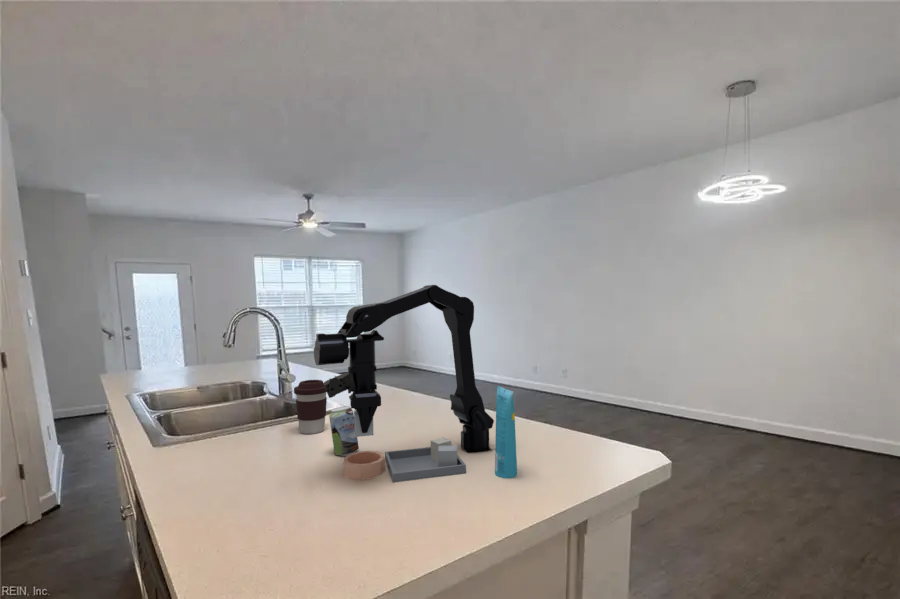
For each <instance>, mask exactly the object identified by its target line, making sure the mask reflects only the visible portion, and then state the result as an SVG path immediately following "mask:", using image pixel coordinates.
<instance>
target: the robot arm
mask: <svg viewBox="0 0 900 599" xmlns="http://www.w3.org/2000/svg"><path fill="white" fill-rule="evenodd" d="M426 304H430V305H431V306H433V307H434V308H435V309H437V310H439V311H441V312H442V314H443V318H444V322H445V324H446V326H447V327H448V329H449V331H450V335H451V342H452V350H453V351H452V352H453V354H452V355H453V361H454V362H453V363H454V369H455V370H454V372H455V378H456V379H455V381H456V382H455V383H456V388H455V392H454V394H453V393H451V394H449V399H450V405H451V406H450V410H451V411H453V414H454V416H455V417H457V418H458V420H459V423H460V425H461V424H462V430H461V431H460V448H461V449H462V450H464V451H465V452H466V453H467V454H475V453H477V454H478V453H483V452H491V451H492V448H491V447H490V429H493V426H494V422H495V420H494V419H493V417H492V416H490V415H489V414H488V413H487V411H486V408H485V404H484V401H483V397H482V396H481V393H480V392H479V390H478V388H477V384H476V378H475V377H476V376H475V366H474V358H473V349H472V338H471V329H472V327H473V323H474V320H475V318H474V317H475V306H474V301H472V300H471V299H470V298H469V297H466V296H459V295H457V294H455V293H453V292H451V291H448V290H446V289H444V288H442V287H440V286H438V285H437V284H428V285H423V287H421V288H418V289H415V290H413V291H410V292H407V293H404V294H402V295H398V296H396V297H392V298H391V299H388V300H385V301H382V302H378V303H377V302H374V303H369V304H363V305H357V306H356V305H355V306H353V307H351V308H350V309H348V311H347V314H346V318H345V321H344V323H343V325H342V326H340V329H339V330H338V332H337V333H316V335H315V341H314V347H313V359H314V363H315V365H316V366H325V365H336V364H344V363H345V361H346V360H348V358H349V365H348V367H347V372H344V373H342V374H339V375H335V376H334V377H332V378H329V379H327V380H325V381H323V383H324V387H325V389H326V395H327V396H328V398H329V399H331V398H333V397H335V396H336V395H338V394H340V393H344V392H345V391H347V392H348V394H351V395H349V397H348V398H349V401H350V408H351V409H354V411H355V410H356V411H357V412H358V416H359V420H360V425H361V430H362V433H367V432H368V429H369V426H370V424H371V421H372V419H373V420H374V416H375V414H376V412H377V408H378V407H381V406H382V396H381V394H380V393H379V392H378V391H377V390H378V386H377V382H376V381H377V379H376V377H377V375H376V374H377V373H376V372H377V365H376V342H379V341H380V342H381V341H384V340H385V338H384V336H382V335H381V334H380V333H379V332H378V330H377V328H378V327H380V326H381V325H382V324H384V323H385V322H386V321H388V320H390V319H391V318H393V317H395V316H397V315H400V314H403V313H405V312H407V311H410V310H413V309H416V308H419V307H421V306H424V305H426ZM369 332H370V333H369ZM350 338H351V339H350Z"/></svg>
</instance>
